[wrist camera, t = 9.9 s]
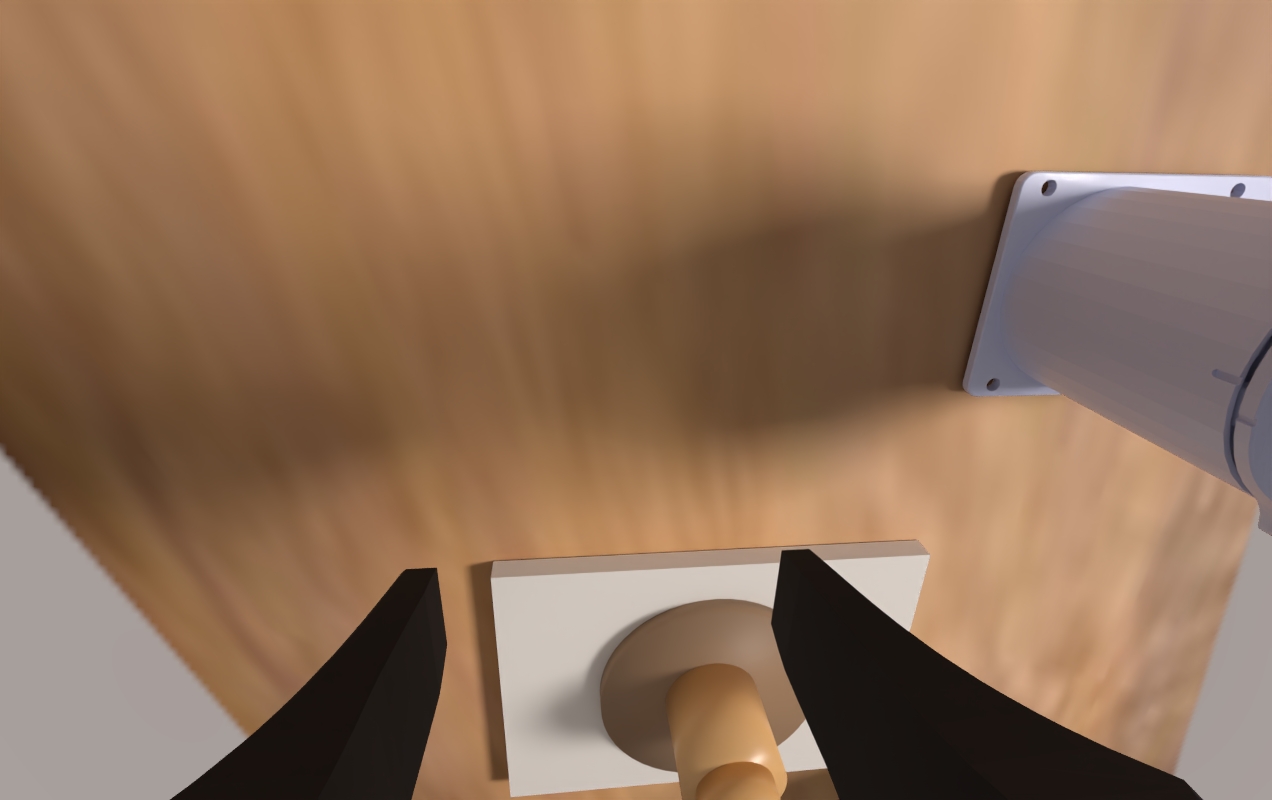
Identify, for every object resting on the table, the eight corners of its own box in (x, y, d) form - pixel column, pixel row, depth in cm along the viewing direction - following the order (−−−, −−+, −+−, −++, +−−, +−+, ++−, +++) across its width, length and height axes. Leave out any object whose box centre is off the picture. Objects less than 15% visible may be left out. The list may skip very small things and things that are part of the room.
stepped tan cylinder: (739, 650, 25) (782, 778, 20) (768, 709, 27) (814, 840, 22) (651, 685, 26) (673, 820, 21) (685, 741, 27) (712, 878, 22)
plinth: (917, 539, 26) (941, 567, 25) (864, 745, 32) (881, 779, 30) (493, 561, 24) (488, 592, 23) (512, 776, 30) (509, 814, 28)
